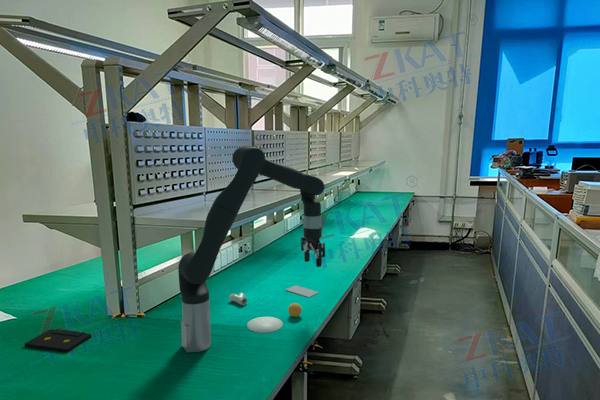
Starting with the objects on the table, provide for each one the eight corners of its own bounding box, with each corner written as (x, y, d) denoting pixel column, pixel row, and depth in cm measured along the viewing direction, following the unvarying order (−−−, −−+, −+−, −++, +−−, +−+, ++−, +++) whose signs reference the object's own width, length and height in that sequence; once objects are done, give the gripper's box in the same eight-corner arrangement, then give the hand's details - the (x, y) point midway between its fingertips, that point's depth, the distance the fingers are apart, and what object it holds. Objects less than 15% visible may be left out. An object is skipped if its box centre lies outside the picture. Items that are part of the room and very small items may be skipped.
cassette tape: (91, 338, 151) (91, 333, 151) (67, 354, 140) (67, 348, 139) (50, 333, 155) (50, 328, 155) (24, 348, 144) (23, 342, 143)
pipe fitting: (240, 299, 189) (229, 302, 184) (240, 290, 189) (229, 293, 184) (252, 303, 184) (241, 306, 179) (252, 294, 184) (241, 298, 179)
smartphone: (309, 297, 189) (284, 289, 198) (309, 299, 189) (284, 291, 198) (319, 292, 195) (295, 284, 204) (319, 294, 195) (295, 286, 204)
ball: (292, 320, 165) (292, 307, 164) (285, 315, 169) (285, 302, 169) (304, 317, 168) (304, 304, 167) (297, 312, 172) (297, 299, 172)
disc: (257, 336, 151) (257, 335, 151) (241, 322, 163) (241, 322, 163) (289, 327, 159) (289, 326, 159) (271, 314, 171) (271, 314, 170)
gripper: (295, 224, 172) (296, 261, 174) (314, 230, 160) (315, 270, 162) (310, 222, 176) (310, 258, 178) (330, 227, 164) (330, 266, 166)
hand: (312, 264), depth 170 cm, fingers open, 8 cm apart
